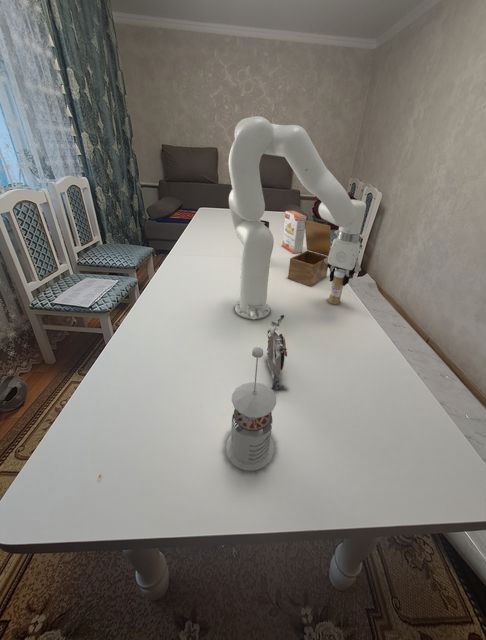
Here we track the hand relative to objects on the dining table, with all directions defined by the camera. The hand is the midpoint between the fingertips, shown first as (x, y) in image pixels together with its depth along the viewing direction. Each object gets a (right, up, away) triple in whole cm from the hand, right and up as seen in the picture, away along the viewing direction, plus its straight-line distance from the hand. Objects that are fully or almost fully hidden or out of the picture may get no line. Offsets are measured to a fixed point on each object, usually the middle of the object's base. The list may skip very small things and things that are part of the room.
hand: (338, 282), depth 113 cm
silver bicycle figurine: (-26, -26, -33) cm, 50 cm away
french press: (-31, -37, -53) cm, 72 cm away
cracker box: (-12, +23, +59) cm, 65 cm away
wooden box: (-8, +4, +24) cm, 26 cm away
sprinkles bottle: (-1, -8, +4) cm, 9 cm away
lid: (-5, +21, +19) cm, 28 cm away
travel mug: (-31, +14, +39) cm, 52 cm away
